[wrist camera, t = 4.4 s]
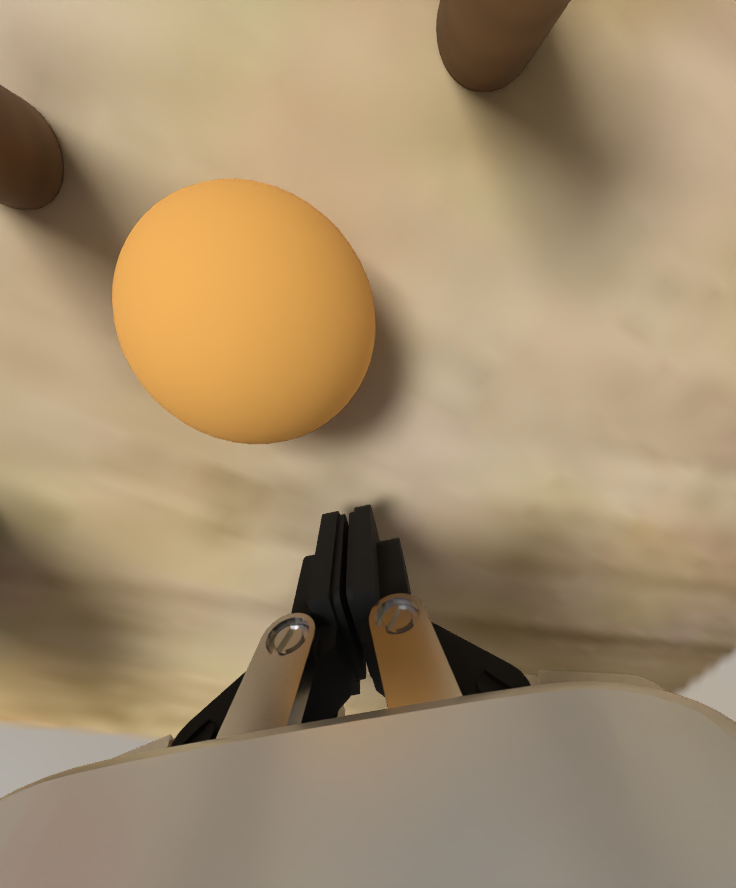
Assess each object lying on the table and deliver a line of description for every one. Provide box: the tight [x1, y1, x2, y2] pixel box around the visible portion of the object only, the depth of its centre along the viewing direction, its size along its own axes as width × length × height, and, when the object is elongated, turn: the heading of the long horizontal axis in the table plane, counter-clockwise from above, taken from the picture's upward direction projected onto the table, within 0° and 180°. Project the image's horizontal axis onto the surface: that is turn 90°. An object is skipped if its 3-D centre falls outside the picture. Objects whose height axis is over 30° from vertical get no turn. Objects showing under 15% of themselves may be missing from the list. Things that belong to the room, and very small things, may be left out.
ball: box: [112, 179, 376, 444], centre depth 8 cm, size 6×6×6 cm
